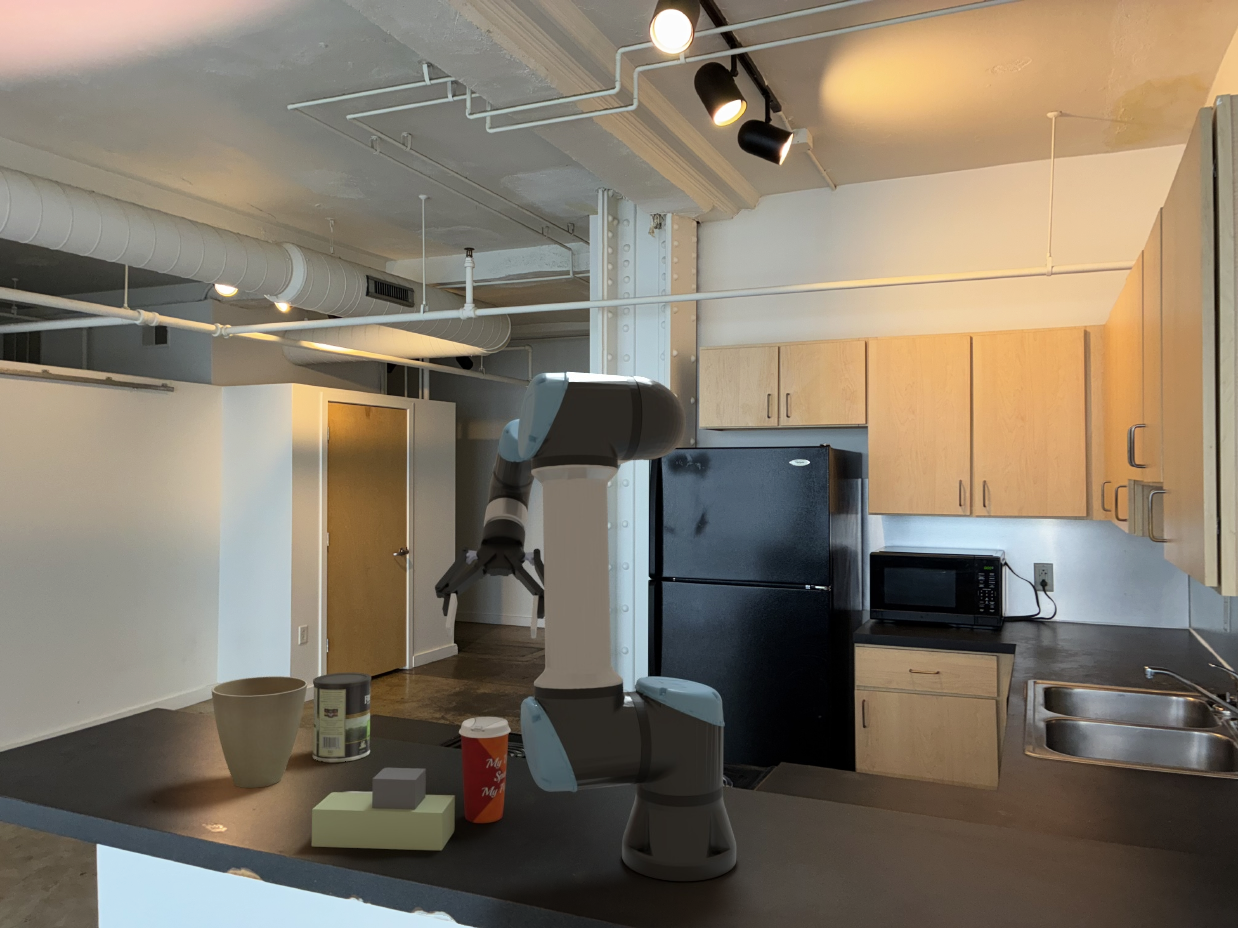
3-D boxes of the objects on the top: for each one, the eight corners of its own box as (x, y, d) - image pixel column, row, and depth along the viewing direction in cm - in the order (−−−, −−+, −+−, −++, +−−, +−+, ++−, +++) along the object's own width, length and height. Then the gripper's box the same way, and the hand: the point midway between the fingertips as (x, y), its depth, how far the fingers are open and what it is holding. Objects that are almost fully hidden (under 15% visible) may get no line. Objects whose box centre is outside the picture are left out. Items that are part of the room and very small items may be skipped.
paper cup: (499, 827, 128) (500, 729, 128) (449, 823, 129) (451, 726, 130) (516, 809, 135) (517, 716, 136) (469, 805, 137) (470, 714, 137)
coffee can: (368, 744, 170) (369, 670, 170) (372, 759, 160) (373, 681, 161) (311, 749, 166) (312, 673, 167) (312, 765, 157) (313, 685, 157)
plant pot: (188, 791, 142) (190, 691, 143) (248, 764, 157) (249, 674, 157) (270, 799, 139) (272, 697, 139) (323, 771, 153) (324, 678, 154)
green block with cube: (470, 806, 136) (471, 747, 137) (441, 850, 119) (442, 782, 120) (344, 802, 138) (345, 744, 138) (298, 845, 121) (299, 779, 121)
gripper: (575, 545, 160) (568, 647, 145) (436, 541, 160) (416, 643, 145) (574, 518, 154) (567, 621, 140) (431, 514, 154) (409, 617, 140)
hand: (490, 632), depth 142 cm, fingers open, 13 cm apart
